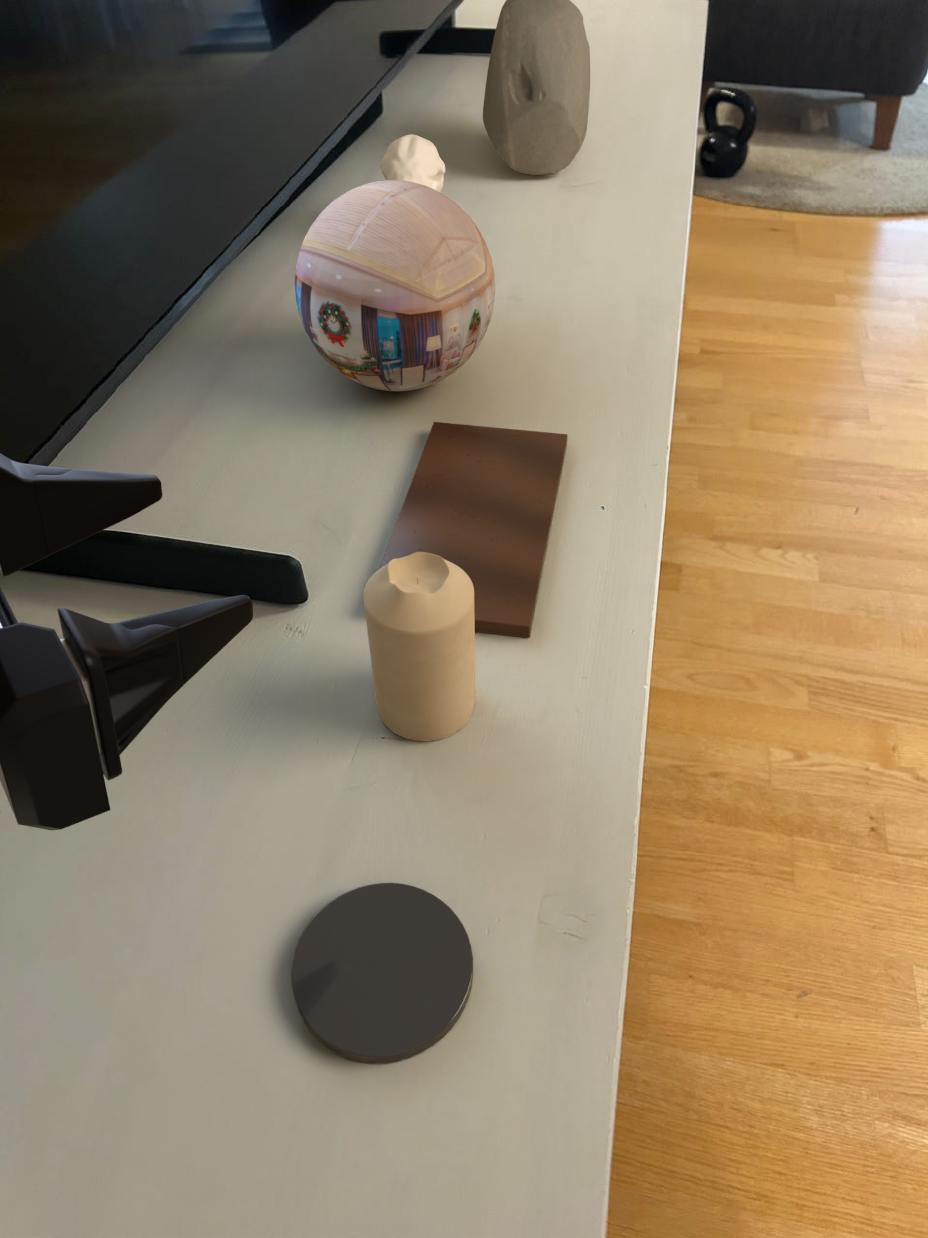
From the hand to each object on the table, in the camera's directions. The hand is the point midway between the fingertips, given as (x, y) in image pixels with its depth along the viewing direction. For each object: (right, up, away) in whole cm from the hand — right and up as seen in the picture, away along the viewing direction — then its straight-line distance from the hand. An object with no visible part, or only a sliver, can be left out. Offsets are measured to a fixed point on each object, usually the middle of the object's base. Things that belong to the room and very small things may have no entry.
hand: (202, 542), depth 40 cm
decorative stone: (+19, +50, +73) cm, 90 cm away
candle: (+9, -8, +15) cm, 19 cm away
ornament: (+6, +16, +39) cm, 43 cm away
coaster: (+7, -19, +4) cm, 20 cm away
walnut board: (+12, +3, +26) cm, 28 cm away
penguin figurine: (+5, +34, +57) cm, 66 cm away
